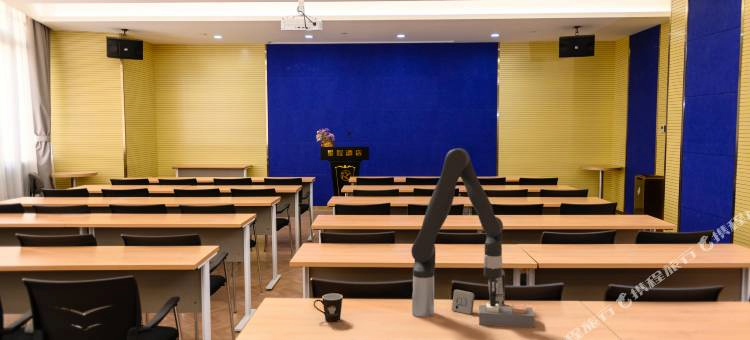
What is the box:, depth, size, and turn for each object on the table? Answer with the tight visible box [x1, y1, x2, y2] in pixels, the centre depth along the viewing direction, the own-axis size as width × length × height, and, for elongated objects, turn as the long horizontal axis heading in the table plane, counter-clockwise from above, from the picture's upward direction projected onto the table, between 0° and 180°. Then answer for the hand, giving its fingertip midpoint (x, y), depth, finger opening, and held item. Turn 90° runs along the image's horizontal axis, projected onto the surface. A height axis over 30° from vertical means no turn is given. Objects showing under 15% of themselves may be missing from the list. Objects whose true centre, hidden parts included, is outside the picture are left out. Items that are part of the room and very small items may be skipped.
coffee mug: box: [313, 293, 343, 323], centre depth 241 cm, size 12×9×10 cm
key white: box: [485, 302, 499, 312], centre depth 237 cm, size 5×5×5 cm
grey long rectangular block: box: [478, 304, 535, 329], centre depth 236 cm, size 22×10×5 cm, turn 80°
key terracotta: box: [512, 304, 526, 314], centre depth 235 cm, size 5×5×5 cm
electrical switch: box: [451, 289, 475, 315], centre depth 250 cm, size 9×5×9 cm, turn 54°
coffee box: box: [496, 269, 506, 306], centre depth 254 cm, size 9×6×16 cm
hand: (492, 305), depth 237 cm, fingers closed
